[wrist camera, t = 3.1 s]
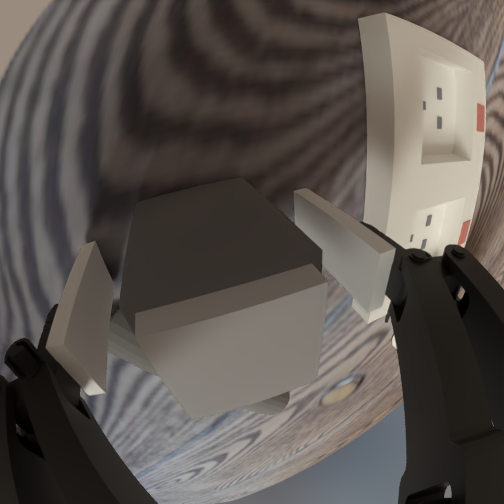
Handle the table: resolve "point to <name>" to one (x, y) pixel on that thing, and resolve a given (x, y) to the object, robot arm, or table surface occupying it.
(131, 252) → the plug
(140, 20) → the table surface
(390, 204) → the socket plate
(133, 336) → the gray half cylinder
